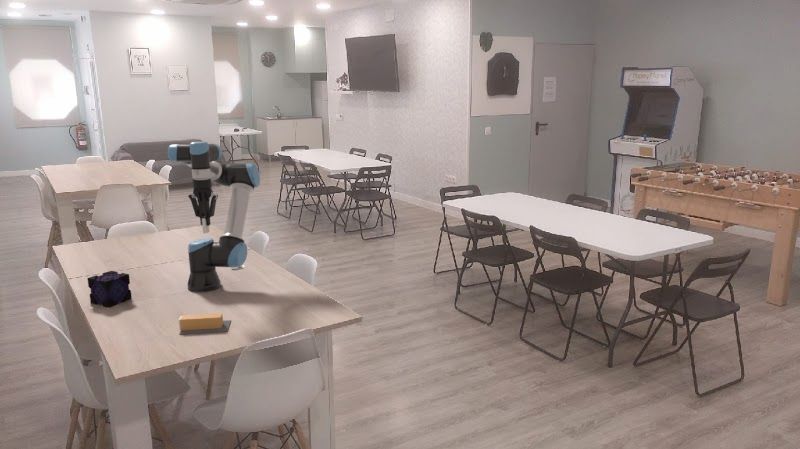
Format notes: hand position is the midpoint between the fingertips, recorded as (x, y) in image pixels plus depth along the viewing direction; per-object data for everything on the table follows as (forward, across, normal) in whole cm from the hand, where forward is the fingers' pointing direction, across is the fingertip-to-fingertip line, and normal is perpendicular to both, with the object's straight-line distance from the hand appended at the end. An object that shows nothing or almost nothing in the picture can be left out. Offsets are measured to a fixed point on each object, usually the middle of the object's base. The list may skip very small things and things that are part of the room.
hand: (206, 232), depth 260 cm
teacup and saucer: (+33, -17, +52) cm, 64 cm away
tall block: (+30, +2, -29) cm, 42 cm away
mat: (+32, +12, -26) cm, 43 cm away
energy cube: (+33, -46, -6) cm, 57 cm away
